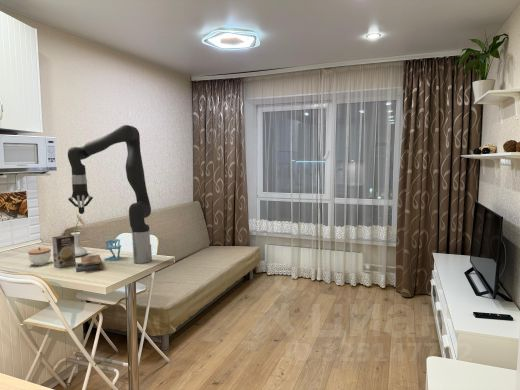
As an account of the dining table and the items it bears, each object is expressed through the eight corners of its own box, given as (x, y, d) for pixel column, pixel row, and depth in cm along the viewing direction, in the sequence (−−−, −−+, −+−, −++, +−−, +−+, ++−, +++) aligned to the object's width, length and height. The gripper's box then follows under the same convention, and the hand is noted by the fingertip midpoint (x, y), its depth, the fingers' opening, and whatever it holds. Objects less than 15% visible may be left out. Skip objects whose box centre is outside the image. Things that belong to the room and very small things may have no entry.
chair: (123, 256, 214) (122, 236, 213) (117, 260, 206) (116, 239, 205) (110, 257, 215) (109, 236, 214) (104, 260, 206) (102, 239, 205)
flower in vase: (81, 257, 214) (78, 215, 211) (62, 258, 214) (59, 216, 212) (92, 252, 227) (89, 212, 224) (74, 252, 227) (71, 213, 225)
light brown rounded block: (99, 262, 202) (99, 254, 202) (102, 269, 188) (101, 261, 188) (81, 265, 198) (81, 256, 197) (83, 272, 184) (82, 263, 183)
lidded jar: (56, 261, 206) (54, 245, 205) (40, 267, 196) (38, 250, 195) (41, 260, 209) (39, 244, 208) (24, 266, 199) (23, 249, 198)
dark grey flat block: (96, 265, 197) (96, 261, 197) (97, 268, 190) (97, 264, 190) (75, 268, 193) (75, 264, 192) (76, 272, 186) (76, 267, 185)
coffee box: (58, 268, 193) (56, 238, 191) (53, 266, 197) (51, 237, 196) (76, 264, 200) (74, 235, 198) (71, 262, 204) (69, 234, 203)
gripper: (92, 182, 209) (94, 212, 211) (66, 183, 203) (68, 214, 204) (93, 182, 202) (95, 213, 204) (66, 184, 196) (68, 215, 198)
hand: (81, 213), depth 204 cm, fingers closed
